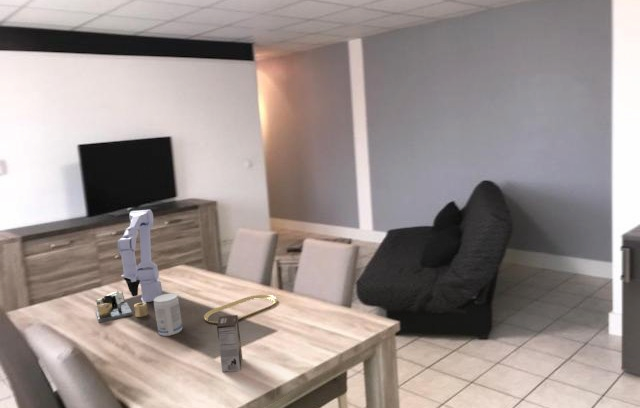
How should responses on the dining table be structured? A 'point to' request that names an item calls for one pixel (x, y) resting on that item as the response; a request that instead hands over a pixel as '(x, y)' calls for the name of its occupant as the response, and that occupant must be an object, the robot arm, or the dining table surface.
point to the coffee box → (229, 343)
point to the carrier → (112, 311)
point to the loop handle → (238, 303)
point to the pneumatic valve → (112, 298)
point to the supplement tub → (168, 314)
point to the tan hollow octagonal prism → (140, 309)
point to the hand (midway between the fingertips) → (133, 293)
